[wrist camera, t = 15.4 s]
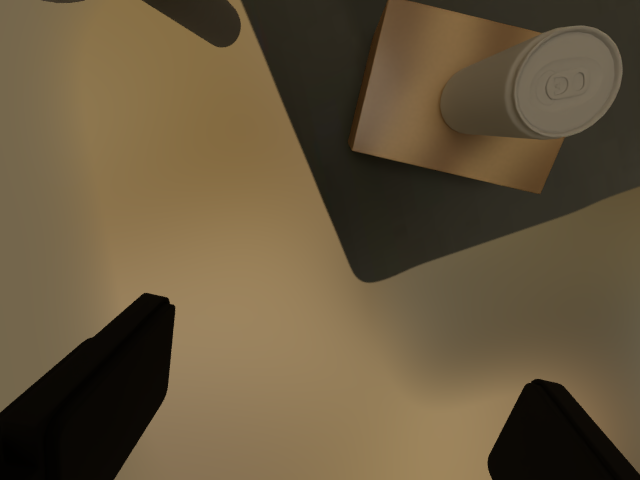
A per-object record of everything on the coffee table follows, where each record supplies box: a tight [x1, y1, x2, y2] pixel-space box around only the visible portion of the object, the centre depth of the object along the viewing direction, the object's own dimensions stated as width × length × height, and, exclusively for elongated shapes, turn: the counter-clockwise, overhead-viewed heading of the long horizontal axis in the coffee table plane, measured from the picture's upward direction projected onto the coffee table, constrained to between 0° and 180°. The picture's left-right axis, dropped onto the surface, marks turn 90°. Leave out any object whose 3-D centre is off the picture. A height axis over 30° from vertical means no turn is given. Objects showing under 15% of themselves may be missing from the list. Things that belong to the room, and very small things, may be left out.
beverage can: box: [440, 25, 623, 140], centre depth 21 cm, size 5×5×12 cm
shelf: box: [348, 0, 565, 194], centre depth 33 cm, size 16×11×12 cm
